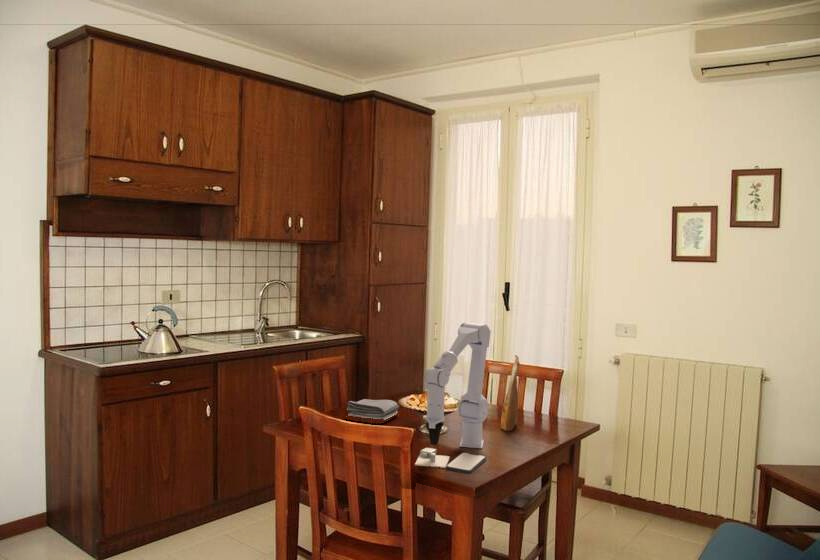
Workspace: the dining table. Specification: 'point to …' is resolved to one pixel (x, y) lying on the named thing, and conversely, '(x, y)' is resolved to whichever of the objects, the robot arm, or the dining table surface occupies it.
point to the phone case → (466, 462)
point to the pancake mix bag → (511, 401)
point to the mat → (439, 462)
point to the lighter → (429, 453)
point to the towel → (373, 409)
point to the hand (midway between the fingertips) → (434, 444)
